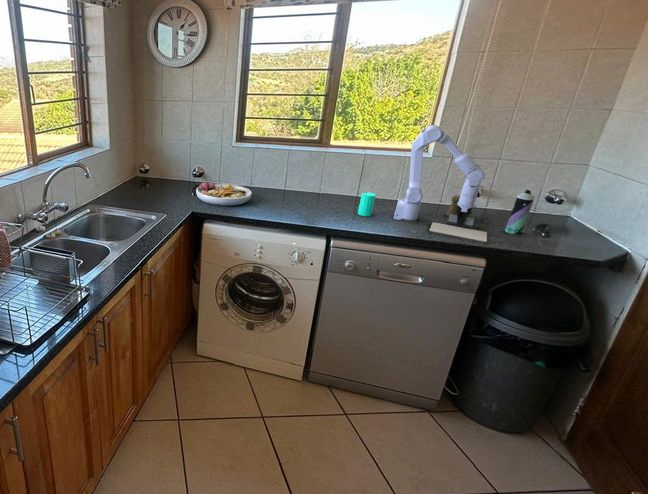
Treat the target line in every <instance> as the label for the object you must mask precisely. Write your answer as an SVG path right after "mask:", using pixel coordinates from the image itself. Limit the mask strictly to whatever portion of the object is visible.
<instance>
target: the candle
mask: <svg viewBox="0 0 648 494" xmlns="http://www.w3.org/2000/svg"><path fill="white" fill-rule="evenodd" d="M376 196H377V194H376V193H374V192H370V191H368V192H362V193H361V195H360V201H359V206H358V209H357V214H358V215H359V216H362V217H371V216H372V213H373V209H374V204H375V199H376Z"/></svg>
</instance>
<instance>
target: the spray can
mask: <svg viewBox="0 0 648 494" xmlns="http://www.w3.org/2000/svg"><path fill="white" fill-rule="evenodd" d="M534 201H535V196H534V195H533V194H532V191H531V190H530V189H525V191H523V192H522V193H518V194H517V196H516V199H515V202H514V205H513V207H512V209H511V213H510V215H509V218H508V221H507V223H506V227H505V229H504V232H506V233H509V234H511V235H521V234H522V232H523V230H524V228H525V225H526V222H527V219H528V217H529V214H530V211H531V209H532V206H533V203H534Z"/></svg>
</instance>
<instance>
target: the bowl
mask: <svg viewBox="0 0 648 494" xmlns="http://www.w3.org/2000/svg"><path fill="white" fill-rule="evenodd" d="M195 192H196V196H197V198H198V199H199V200H200V201H202V202H204V203H207V204H210V205H215V206H223V207H224V206H225V207H227V206H228V207H232V206H240V205H242V204H245V203H247V202H249V200H250V199H251V198H252V194H253V193H252V190H250V189H249V188H247V187H245V186H241V185H237V184H231V183H214V182H211V181H209V182H204V181H203V182H201V183H200V184H199V185H198V186H197V187H196V189H195Z"/></svg>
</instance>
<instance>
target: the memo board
mask: <svg viewBox="0 0 648 494" xmlns="http://www.w3.org/2000/svg"><path fill="white" fill-rule="evenodd" d="M429 232H434V233H440V234H445V235H450V236H454V237H458V238H459V237H460V238H465V239H469V240H476V241H479V242H480V241H481V242H485V243H487V242H488V232H487V231H483V230H477V229H472V228H468V227H462V226H457V225H452V224H444V223H439V222H432V223H431V225H430V228H429Z"/></svg>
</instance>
